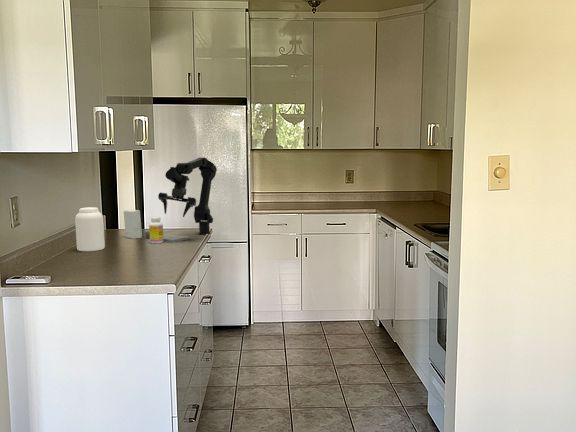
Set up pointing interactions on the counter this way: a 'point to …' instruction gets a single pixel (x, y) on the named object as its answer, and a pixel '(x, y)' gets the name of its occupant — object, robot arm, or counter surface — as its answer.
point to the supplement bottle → (156, 230)
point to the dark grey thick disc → (147, 235)
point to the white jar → (89, 230)
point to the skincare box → (132, 224)
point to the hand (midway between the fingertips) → (174, 215)
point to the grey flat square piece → (175, 238)
